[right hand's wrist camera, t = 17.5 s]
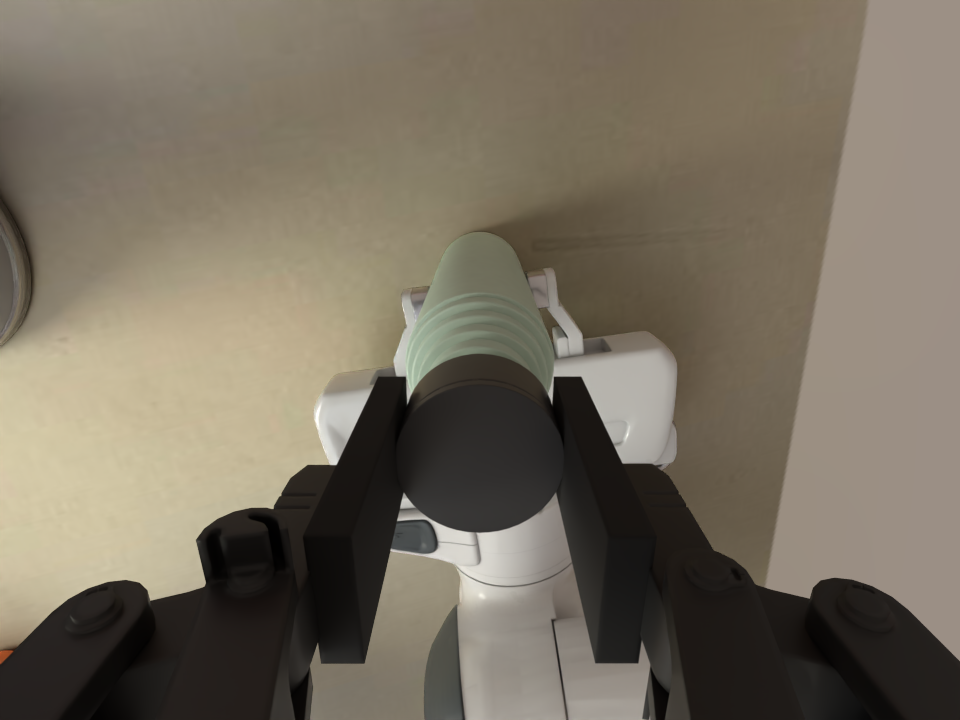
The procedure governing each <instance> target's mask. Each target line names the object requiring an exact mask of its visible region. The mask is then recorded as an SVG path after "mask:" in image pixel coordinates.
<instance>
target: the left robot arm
mask: <svg viewBox="0 0 960 720" xmlns="http://www.w3.org/2000/svg"><path fill="white" fill-rule="evenodd" d="M525 275H526V279H527V282H528V284H529V287H530V289H531V292H532V294H533V297H534V299H535V302H536V304H537V307H538V308H547V309H548V311H549V312H550V313H551V315H552V316H553V317H554V318H555V320H556V321H557V322H558V324H559V325H560V326H554V327H553V328H552V332H553V343H552V347H553V351H554V371H553V378H552V383H551V387H550V390H549V393H548V395H549V397H550V400H551V403H552V400H553V381H554V376H581V377H582V379H583V381H584V383H585V385H586V387H587V389H588V392H589V394H590V396H591V398H592V400H593V402H594V404H595V406H596V408H597V411H598V413H599V415H600V417H601V419H602V421H603V423H604V425H605V428H606V430H607V432H608V434H609V436H610V438H611V440H612V442H613V444H614V447H615V449H616V451H617V453H618V455H619V457H620V459H621V461H622V463H652V464H654V465H656V467H657V468H659V469H660V470H663V469H665V468H666V467H667V466H668V465H669V464H670V463H672V462H673V461H674V460H675V457H676V454H677V430H676V425H675V423H674V421H673V415H674V408H675V400H676V388H677V362H676V359H675V357H674V355H673V353H672V352H671V351H670V350H669V348H668V347H667V346H666V345H665V344H664V343H663V342H661V341H660V340H659V339H658V338H656V337H655V336H654V335H652V334H651V333H650V332H647V331H637V332H630V333H623V334H616V335H609V336H602V337H595V338H588V339H583V334H582V333H581V331H580V329H579V327H578V326H577V324H576V322H575V321H574V320H573V318H572V317H571V316H570V315H569V313H568V312H567V311H566V309H565V308H564V307H563V305H562V304H561V303H560V301H559V300H558V293H557V283H556V276H555V272H554V270H553V268H552V267H551V268H544V269H537V270H531V271H525ZM429 288H430V286H424V287H416V288H409V289H404V290H403V292H402V294H401V297H402V306H403V310H404V315H405V320H406V327H405V329H404V332H403V335H402V337H401V340H400V343H399V346H398V349H397V351H396V354H395V357H394V360H393V362H394V366H388V367H381V368H374V369H367V370H360V371H353V372H345V373H339V374H336V375H335V376H333V377H332V378H331V380H330V381H329V382H328V383H327V385H326V386H325V387H324V389H323V390H322V392H321V394H320V395H319V397H318V399H317V401H316V404H315V407H314V419H315V423H316V427H317V430H318V434H319V437H320V440H321V443H322V446H323V448H324V451H325V454H326V456H327V459H328V461H329V464H330V465H337V463H338V461H339V459H340V456H341V454H342V452H343V450H344V448H345V446H346V444H347V442H348V439H349V437H350V435H351V433H352V431H353V429H354V427H355V425H356V423H357V420H358V418H359V416H360V414H361V412H362V410H363V408H364V406H365V404H366V401H367V399H368V397H369V395H370V393H371V391H372V389H373V387H374V384H375V382H376V380H377V378H378V376H406V387H407V405H408V402H409V399H410V396H411V391H410V388H409V385H408V380H407V373H406V365H405V357H406V349H407V345H408V341H409V339H410V336H411V333H412V331H413V328H414V326H415V323H416V321H417V318H418V316H419V313H420V311H421V308H422V306H423V303H424V301H425V298H426V296H427V293H428V291H429ZM390 551H391V552H399V553H406V554H412V555H418V556H424V557H429V558H434V559H438V560H442V561H446V562H449V563H453V564H454V565H455V567H456V569H457V571H458V573H459V575H460V578H461V582H460V590H459V597H460V605H456V606H455V607H454V608H453V609H452V610H451V612H450V613H449V615H448V616H447V618H446V620H445V621H444V623H443V625H442V627H441V629H440V631H439V632H438V634H437V636H436V638H435V640H434V642H433V644H432V647H431V650H430V653H429V657H428V661H427V666H426V673H425V684H424V715H425V720H645V719H642V716H643V709H644V702H645V696H646V689H647V683H648V677H649V670H650V662H649V659H648V656H647V653H646V650H645V647H644V645H643V642H642V643H641V649H640V656H639V663H638V664H595V660H594V656H593V652H592V647H591V643H590V639H589V634H588V630H587V626H586V621H585V617H584V612H583V608H582V604H581V599H580V595H579V591H578V586H577V582H576V578H575V573H574V569H573V565H572V560H571V556H570V551H569V547H568V543H567V538H566V534H565V530H564V525H563V521H562V517H561V512H560V508H559V504H558V499H557V495H556V493H555V494H554V496H553V497H552V499H551V500H550V501H549V502H548V504H547V505H546V506H545V507H544V508H543V509H542V510H541V511H540V512H538V513H537V514H536V515H535V516H533V517H532V518H530V519H529V520H527V521H525V522H523V523H521V524H519V525H517V526H514V527H511V528H509V529H505V530H501V531H495V532H488V533H473V532H464V531H459V530H455V529H451V528H448V527H445V526H443V525H441V524H438V523H436V522H435V521H433V520H431V519H429V518H428V517H426V516H425V515H424V514H422V513H421V512H420V511H419V510H418V509H417V508H416V507H415V506H414V505H413V504H412V503H411V502H410V501H409V499H408V498H407V497H406V495H405V493H403V498H402V502H401V506H400V511H399V515H398V520H397V524H396V528H395V533H394V537H393V541H392V546H391V550H390ZM649 720H650V717H649Z"/></svg>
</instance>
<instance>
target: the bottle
mask: <svg viewBox="0 0 960 720" xmlns="http://www.w3.org/2000/svg"><path fill="white" fill-rule="evenodd" d="M469 354H491V355H496V356H501V357H505V358H508V359H510V360H512V361H514V362H516V363H519V364H520V365H522V366H523V367H525V368H526V369H528V370H529V371H530V372H531V373H533V374H534V375H535V376H536V377H537V378H538V380H539V381H540V382H541V383H542V385H543V386H544V388H545V389H546V391H547V393H549V390H550V387H551V383H552V378H553V371H554V351H553V347H552V342H551V340H550V337H549V335H548V332H547V330H546V327H545V325H544V322H543V319H542V317H541V314H540V312H539V309H538V307H537V304H536V302H535V299H534V297H533V294H532V292H531V289H530V287H529V284H528V282H527V279H526V277H525V274H524V272H523V269H522V267H521V264H520V262H519V259H518V257H517V254H516V253H515V251H514V249H513V248H512V247H511V246H510V245H509V244H508V242H506V241H505V240H504V239H502V238H501V237H499V236H497V235H494V234H491V233H487V232H472V233H468V234H465V235H463V236H461V237H459V238H457V239H456V240H455V241H453V242H452V243H451V244H450V245H449V246H448V248H447V249H446V250H445V252H444V254H443V256H442V258H441V261H440V263H439V266H438V268H437V271H436V273H435V276H434V278H433V281H432V283H431V286H430V288H429V291H428V293H427V296H426V298H425V301H424V303H423V306H422V308H421V311H420V313H419V316H418V318H417V321H416V323H415V326H414V328H413V331H412V333H411V336H410V339H409V341H408V345H407V349H406V357H405V365H406V373H407V380H408V385H409V388H410V391H411V394H412V392H413V390H414V388H415V387H416V385H417V384H418V383H419V381H420V380H421V379H422V378H423V377H424V376H425V375H426V374H427V373H428V372H429V371H431V370H432V369H433V368H434V367H436V366H438V365H439V364H441V363H443V362H445V361H447V360H450V359H452V358H455V357H459V356H463V355H469Z"/></svg>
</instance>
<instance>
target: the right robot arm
mask: <svg viewBox="0 0 960 720" xmlns="http://www.w3.org/2000/svg"><path fill="white" fill-rule="evenodd" d="M30 295H31V271H30V264H29V259H28V255H27V251H26V248H25V245H24V242H23V239H22V236H21V234H20V232H19V230H18V227H17V225H16V223H15V222H14V220H13V218H12V216H11V214H10V212H9V211H8V209H7V208H6V206H5V205H4V203H3V202H2V200H1V199H0V346H1V345H3V344H4V343H5V342H6V341H8V340H9V339H10V338H11V337H12V336H13V334H14V333H15V332H16V331H17V329H18V328H19V326H20V325H21V323H22V321H23V319H24V317H25V315H26V312H27V309H28V305H29V300H30ZM552 406H553V410H554V413H555V417H556V420H557V423H558V427H559V430H560V433H561V437H562V440H563V444H564V459H563V474H562V480H561V483H560V485H559V487H558V489H557V491H556V495H557V499H558V504H559V508H560V512H561V517H562V521H563V525H564V530H565V534H566V538H567V543H568V547H569V551H570V556H571V560H572V565H573V569H574V573H575V578H576V582H577V586H578V591H579V595H580V599H581V604H582V608H583V612H584V617H585V621H586V626H587V630H588V634H589V639H590V643H591V647H592V652H593V656H594V660H595V664H638V663H639V656H640V649H641V643H642V642H643V645H644V647H645V650H646V653H647V656H648V659H649V662H650V670H649V677H648V683H647V689H646V696H645V702H644V709H643V716H642V719H645V720H649V717H650V720H960V661H959V660H958V659H957V658H956V657H955V656H954V655H953V654H952V653H951V652H950V651H949V650H948V649H947V648H946V647H945V646H944V645H943V644H942V643H941V642H940V641H939V640H938V639H937V638H936V637H935V636H934V635H933V634H932V633H931V632H930V631H929V630H928V629H927V628H926V627H925V626H924V625H923V624H922V623H921V622H920V621H919V620H918V619H917V618H916V617H915V616H914V615H913V614H912V613H911V612H910V611H909V610H908V609H906V608H905V607H904V606H903V605H901V604H900V603H899V602H898V601H896V600H895V599H894V598H893V597H891V596H889V595H888V594H886V593H884V592H882V591H880V590H878V589H876V588H874V587H873V586H870V585H867V584H864V583H861V582H857V581H854V580H850V579H841V578H831V579H826V580H821V581H820V582H819V583H818V584H817V585H816V586H814V587H813V590H812V593H811V597H810V599H808V598H804V597H799V596H795V595H791V594H787V593H782V592H778V591H774V590H770V589H767V588H764V587H761V586H758V585H755V584H754V582H753V580H752V578H751V577H750V575H749V574H748V572H747V571H746V570H745V569H744V568H743V567H742V566H741V565H739V564H738V563H737V562H736V561H734V560H733V559H731V558H729V557H727V556H725V555H723V554H721V553H719V552H716V551H714V550H713V548H712V547H711V545H710V543H709V542H708V540H707V538H706V537H705V535H704V533H703V532H702V530H701V528H700V527H699V525H698V523H697V522H696V520H695V518H694V517H693V515H692V513H691V512H690V510H689V508H688V507H686V503H685V502H684V500H683V498H682V497H681V495H679V494H678V490H677V489H676V487H675V485H674V484H673V482H672V480H671V479H670V477H669V476H668V475H667V474H665V473H664V472H663V471H661V470H660V469H659V468H657V467H656V466H655V465H654V464H652V463H622V461H621V459H620V457H619V455H618V453H617V451H616V449H615V447H614V444H613V442H612V440H611V438H610V436H609V434H608V432H607V430H606V428H605V425H604V423H603V421H602V419H601V417H600V415H599V413H598V411H597V408H596V406H595V404H594V402H593V400H592V398H591V396H590V394H589V392H588V389H587V387H586V385H585V383H584V381H583V379H582V377H581V376H554V381H553V400H552ZM406 408H407V387H406V376H378V378H377V380H376V382H375V384H374V387H373V389H372V391H371V393H370V395H369V397H368V399H367V401H366V404H365V406H364V408H363V410H362V412H361V414H360V416H359V418H358V420H357V423H356V425H355V427H354V429H353V431H352V433H351V435H350V437H349V439H348V442H347V444H346V446H345V448H344V450H343V452H342V454H341V456H340V459H339V461H338V463H337V465H307V466H306V467H305V468H303V469H302V470H301V471H299V472H298V473H297V474H295V475H294V476H293V477H291V478H290V480H289V482H288V483H287V485H286V487H285V488H284V490H283V492H282V495H281V496H280V497H279V498H278V500H277V502H276V503H275V505H274V509H269V508H249V509H244V510H240V511H235V512H232V513H230V514H228V515H226V516H223V517H221V518H219V519H217V520H216V521H214V522H213V523H211V524H210V525H209V526H207V527H206V528H205V529H204V530H203V531H202V533H201V534H200V535H199V537H198V538H197V539H196V542H197V546H198V550H199V555H200V559H201V563H202V567H203V572H204V576H205V580H206V585H205V587H203V588H200V589H196V590H193V591H190V592H186V593H182V594H178V595H174V596H169V597H165V598H161V599H157V600H152V601H150V598H149V595H148V591H147V590H146V589H145V588H144V587H143V586H142V585H141V584H140V583H138V582H133V581H128V580H122V581H113V582H107V583H104V584H101V585H98V586H95V587H92V588H88V589H86V590H85V591H83V592H81V593H79V594H77V595H75V596H73V597H72V598H70V599H68V600H67V601H66V602H64V603H63V604H62V605H61V606H59V607H58V608H57V609H56V610H54V611H53V612H52V613H51V614H50V615H49V616H48V617H47V618H46V619H45V620H44V621H43V622H42V623H41V624H40V625H39V626H38V627H37V628H36V629H35V630H34V631H33V632H32V633H31V634H30V635H29V636H28V637H27V638H26V639H25V640H24V641H23V642H22V643H21V644H20V645H19V646H18V647H17V648H16V649H15V650H14V651H13V652H12V653H11V654H10V655H9V656H8V657H7V658H6V659H5V660H4V661H3V662H2V663H1V664H0V720H310V712H311V702H312V692H313V684H312V677H311V670H310V664H311V661H312V658H313V655H314V652H315V649H316V646H317V643H318V645H319V652H320V659H321V664H364V663H365V659H366V655H367V650H368V646H369V641H370V637H371V633H372V628H373V624H374V620H375V615H376V611H377V607H378V602H379V598H380V594H381V589H382V585H383V581H384V576H385V572H386V567H387V563H388V559H389V554H390V550H391V546H392V541H393V537H394V533H395V528H396V524H397V520H398V515H399V511H400V506H401V502H402V498H403V493H404V492H403V490H402V488H401V486H400V484H399V481H398V478H397V464H396V441H397V438H398V435H399V431H400V428H401V425H402V421H403V418H404V415H405V411H406Z"/></svg>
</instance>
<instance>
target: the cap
mask: <svg viewBox="0 0 960 720" xmlns="http://www.w3.org/2000/svg"><path fill="white" fill-rule="evenodd" d="M563 459H564V444H563V440H562V437H561V433H560V430H559V427H558V423H557V420H556V417H555V413H554V410H553V406H552V403H551V400H550V397H549V395H548V393H547V391H546V389H545V388H544V386H543V385H542V383H541V382H540V381H539V380H538V378H537V377H536V376H535V375H534V374H533V373H531V372H530V371H529V370H528V369H526V368H525V367H523V366H522V365H520V364H519V363H516V362H514V361H512V360H510V359H508V358H505V357H501V356H496V355H491V354H469V355H463V356H459V357H455V358H452V359H450V360H447V361H445V362H443V363H441V364H439V365H438V366H436V367H434V368H433V369H432V370H431V371H429V372H428V373H427V374H426V375H425V376H424V377H423V378H422V379H421V380H420V381H419V383H418V384H417V385H416V387H415V388H414V390H413V392H412V394H411V396H410V399H409V402H408V405H407V408H406V411H405V415H404V418H403V421H402V425H401V428H400V431H399V435H398V438H397V441H396V464H397V478H398V481H399V484H400V486H401V488H402V490H403V492H404V493H405V495H406V497H407V498H408V499H409V501H410V502H411V503H412V504H413V505H414V506H415V507H416V508H417V509H418V510H419V511H420V512H421V513H422V514H424V515H425V516H426V517H428V518H429V519H431V520H433V521H435V522H436V523H438V524H441V525H443V526H445V527H448V528H451V529H455V530H459V531H464V532H473V533H488V532H495V531H501V530H505V529H509V528H511V527H514V526H517V525H519V524H521V523H523V522H525V521H527V520H529V519H530V518H532V517H533V516H535V515H536V514H537V513H538V512H540V511H541V510H542V509H543V508H544V507H545V506H546V505H547V504H548V502H549V501H550V500H551V499H552V497H553V496H554V494H555V493H556V491H557V489H558V487H559V485H560V483H561V480H562V474H563Z"/></svg>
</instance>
